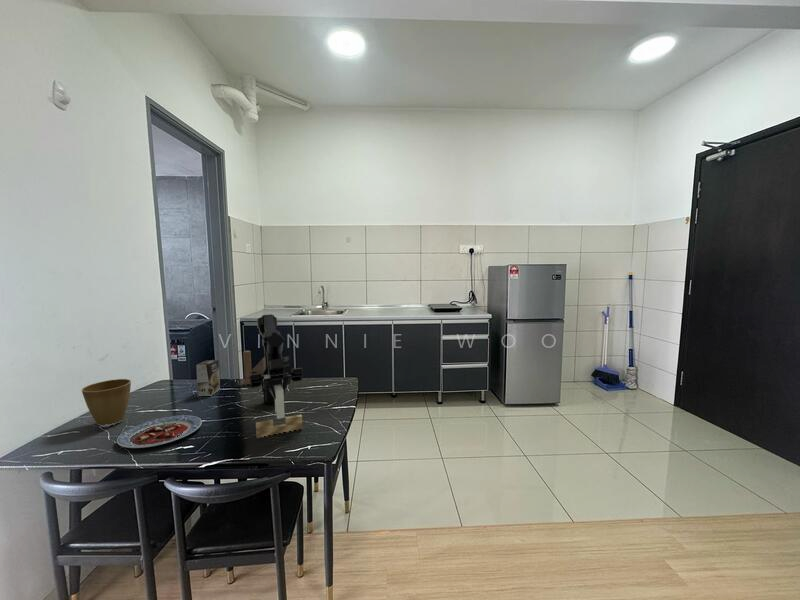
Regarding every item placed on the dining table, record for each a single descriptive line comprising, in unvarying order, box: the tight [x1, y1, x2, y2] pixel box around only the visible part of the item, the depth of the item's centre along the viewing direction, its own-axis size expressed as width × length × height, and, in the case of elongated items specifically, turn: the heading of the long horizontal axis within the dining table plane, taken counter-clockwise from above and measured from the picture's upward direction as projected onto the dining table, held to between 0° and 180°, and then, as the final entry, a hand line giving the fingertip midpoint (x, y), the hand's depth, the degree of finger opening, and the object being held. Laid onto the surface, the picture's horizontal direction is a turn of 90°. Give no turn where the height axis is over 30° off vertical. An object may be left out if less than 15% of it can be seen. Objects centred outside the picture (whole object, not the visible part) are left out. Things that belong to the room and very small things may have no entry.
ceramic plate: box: [116, 414, 203, 449], centre depth 128 cm, size 26×26×3 cm
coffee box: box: [195, 359, 221, 397], centre depth 171 cm, size 9×6×16 cm
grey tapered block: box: [274, 385, 286, 419], centre depth 128 cm, size 8×2×10 cm, turn 25°
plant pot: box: [81, 378, 132, 425], centre depth 138 cm, size 15×15×16 cm
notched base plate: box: [255, 414, 304, 439], centre depth 128 cm, size 16×2×5 cm, turn 115°
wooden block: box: [242, 350, 266, 385], centre depth 185 cm, size 4×11×18 cm, turn 95°
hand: (279, 398), depth 126 cm, fingers closed on grey tapered block, 2 cm apart
